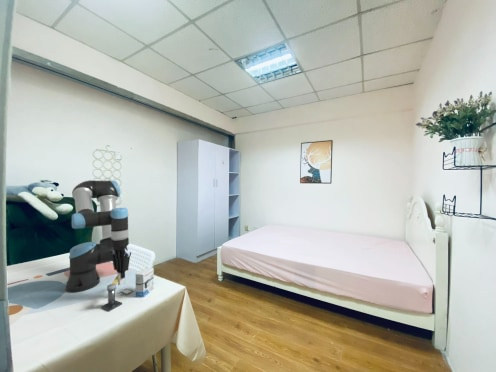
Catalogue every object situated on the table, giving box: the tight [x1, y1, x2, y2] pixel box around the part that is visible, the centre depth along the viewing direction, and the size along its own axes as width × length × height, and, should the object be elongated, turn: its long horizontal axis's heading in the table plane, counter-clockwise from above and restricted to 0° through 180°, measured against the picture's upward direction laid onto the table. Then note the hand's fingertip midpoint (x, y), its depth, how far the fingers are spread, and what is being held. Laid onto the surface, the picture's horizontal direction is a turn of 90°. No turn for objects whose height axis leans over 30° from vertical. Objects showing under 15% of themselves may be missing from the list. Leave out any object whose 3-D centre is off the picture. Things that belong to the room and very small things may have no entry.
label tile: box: [118, 288, 135, 297], centre depth 109 cm, size 6×4×1 cm, turn 66°
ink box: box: [135, 266, 155, 298], centre depth 109 cm, size 8×5×12 cm, turn 168°
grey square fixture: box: [100, 289, 123, 312], centre depth 97 cm, size 6×6×8 cm
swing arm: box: [106, 274, 118, 292], centre depth 104 cm, size 4×18×2 cm, turn 18°
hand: (121, 284), depth 105 cm, fingers closed
